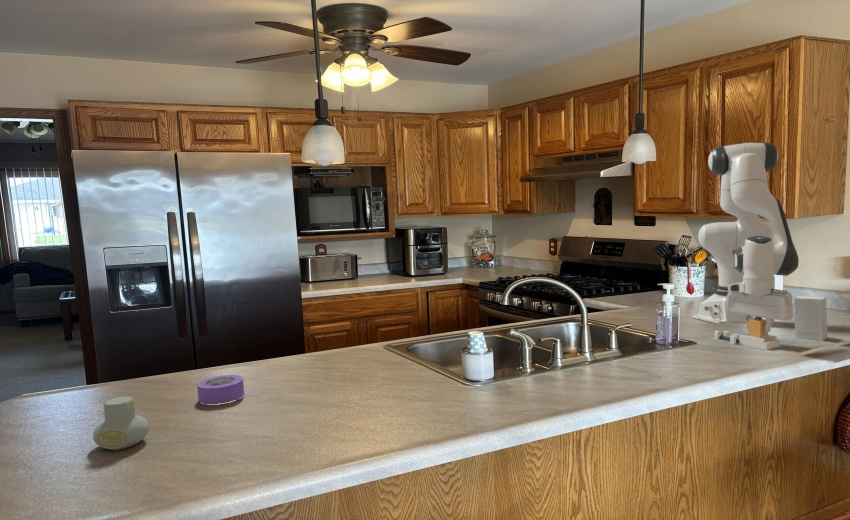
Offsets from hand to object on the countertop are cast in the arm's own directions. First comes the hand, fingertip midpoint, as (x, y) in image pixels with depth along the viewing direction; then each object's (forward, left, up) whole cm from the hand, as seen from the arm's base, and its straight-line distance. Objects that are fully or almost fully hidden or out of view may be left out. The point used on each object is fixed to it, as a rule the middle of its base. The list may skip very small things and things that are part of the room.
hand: (758, 330), depth 187 cm
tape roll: (-49, -158, -6) cm, 165 cm away
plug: (0, 0, -2) cm, 2 cm away
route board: (-5, +4, -6) cm, 9 cm away
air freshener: (-28, -182, -6) cm, 184 cm away
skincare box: (+4, +22, -6) cm, 23 cm away
